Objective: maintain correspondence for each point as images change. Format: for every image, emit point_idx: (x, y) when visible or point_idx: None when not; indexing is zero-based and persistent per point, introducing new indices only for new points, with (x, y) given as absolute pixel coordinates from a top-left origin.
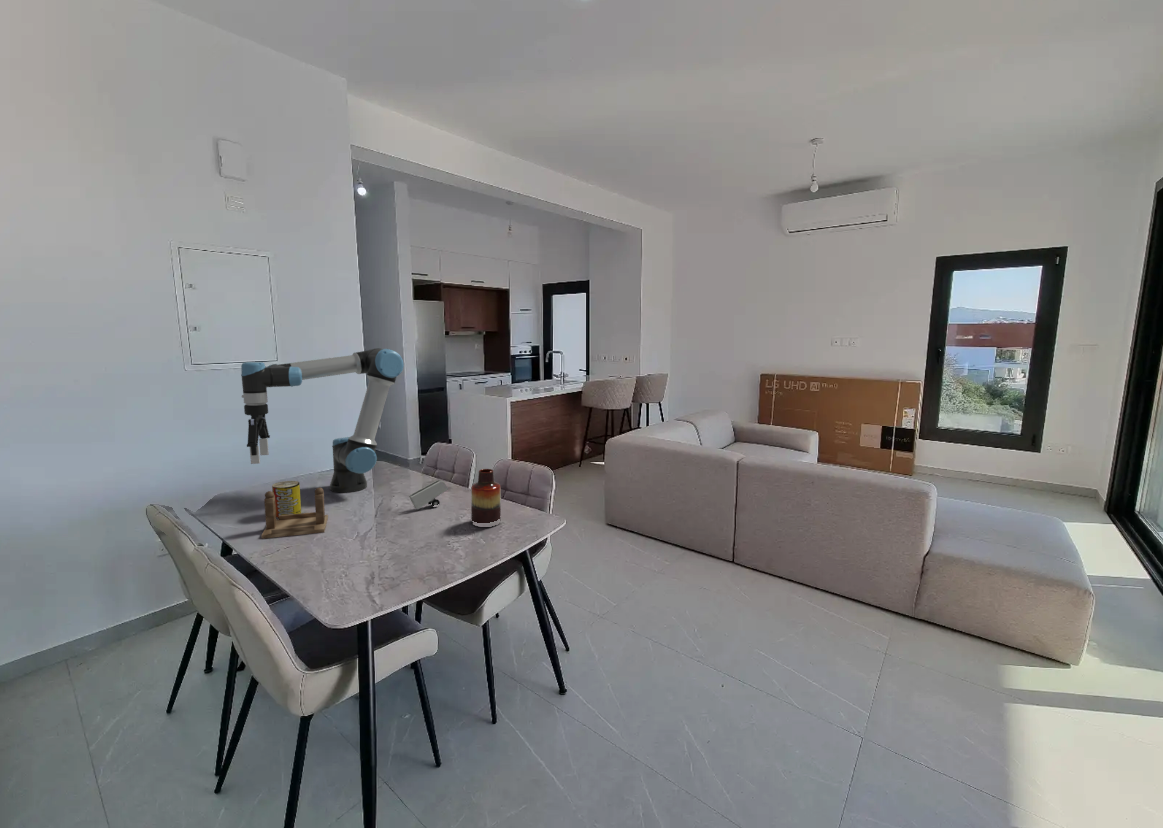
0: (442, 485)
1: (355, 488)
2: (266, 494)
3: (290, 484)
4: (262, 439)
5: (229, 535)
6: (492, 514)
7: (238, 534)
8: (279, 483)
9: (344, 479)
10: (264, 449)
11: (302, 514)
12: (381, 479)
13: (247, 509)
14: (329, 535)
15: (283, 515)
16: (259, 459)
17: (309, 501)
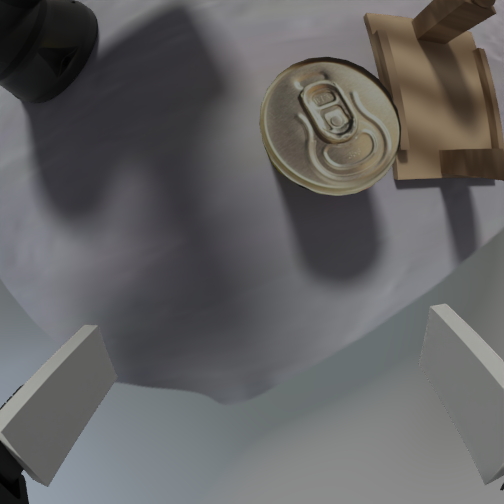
0: None
1: (89, 10)
2: None
3: (344, 97)
4: (31, 462)
5: (455, 265)
6: None
7: (455, 244)
8: (313, 163)
9: (64, 26)
10: (81, 380)
11: (397, 75)
12: None
13: (228, 295)
14: (480, 28)
15: (404, 134)
16: (454, 322)
17: (164, 108)
